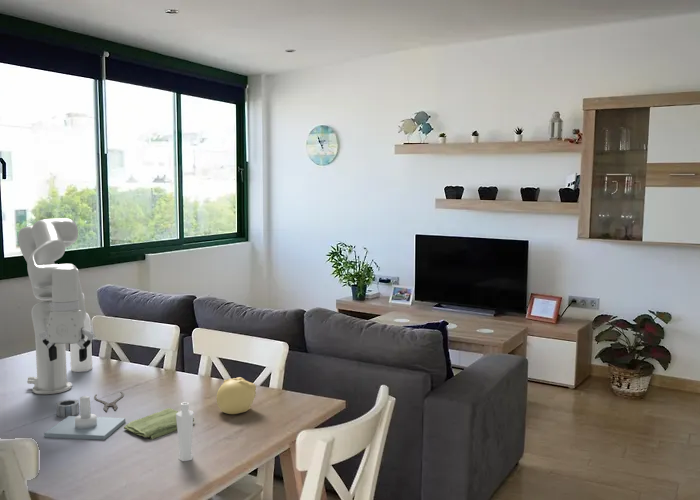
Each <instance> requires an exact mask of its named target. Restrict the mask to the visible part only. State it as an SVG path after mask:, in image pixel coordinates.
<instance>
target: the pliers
mask: <svg viewBox="0 0 700 500" xmlns="http://www.w3.org/2000/svg"><path fill="white" fill-rule="evenodd" d="M120 394H121V396H119V397H117V398H116V399H114V400H113V401H112V402H107V401H104V400H102V399H99V398H97V396H98V394H96V393H95V394H94V396H93V399H94V400H95V401H96V402H99V403H101V404H103V411H105V413H108V410H109V408H112V409H113V411H114V412H117V410H118V405H117V403H118V402H119V401H120V400H121V399H123V398H124V395H125V393H124V392H123V391H120Z"/></svg>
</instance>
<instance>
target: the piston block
mask: <svg viewBox="0 0 700 500" xmlns="http://www.w3.org/2000/svg"><path fill="white" fill-rule="evenodd" d="M125 423H126V417H103V416H97V414H95V413H91V396H89V395H84V396H80V397H79V414H78V415H75V416H68V417H64V419H62V420H61V421H59V422H58V423H57V424H55V425H54V426H53V427H51V428H50V429H47V430H46V431H45V432H44V433H43V438H51V439H52V438H53V439H54V438H55V439H56V438H58V439H78V440H79V439H80V440H82V439H83V440H99V441H100V440H103V441H105V440H106V439H107V438H108V437H110V436H111V435H112V434H114V432H116V430H118V429H119V428H120V427H121V426H123V425H124V424H125Z"/></svg>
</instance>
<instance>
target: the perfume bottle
mask: <svg viewBox="0 0 700 500" xmlns="http://www.w3.org/2000/svg"><path fill="white" fill-rule="evenodd" d="M189 404H190V402H186V401H183V402H181V403H180V410H179V411H178V413H176V421H177V430H176V431H177V440H178V442H177V443H178V450H179V454H178V460H180V462H186V461H192V460H193V458H194V455H193V450H192V449H193V448H192V447H193V430H194V429H193V428H194V427H193V426H194V421H193V418H194V411H193V410H191V409H189Z"/></svg>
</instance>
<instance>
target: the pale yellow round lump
mask: <svg viewBox="0 0 700 500" xmlns="http://www.w3.org/2000/svg"><path fill="white" fill-rule="evenodd" d="M256 390H257V385H256V384H255V383H254V382H250V381H248V380H246V379H245V378H243V377H241V376H238V377H236V378H235V377H233V378H227V379H224V380H223V383H222V384H221V385H220V386H219V388H218V390H217V393H216V397H215V398H216V404H217V407H218V408H219V410H220V411H221V412H222V413H224V414H227V415H237V414H242V413H245V412H247V411H249V410H250V408H251V407H252V406H253V403H254V399H255V398H256V395H257V392H256Z"/></svg>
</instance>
